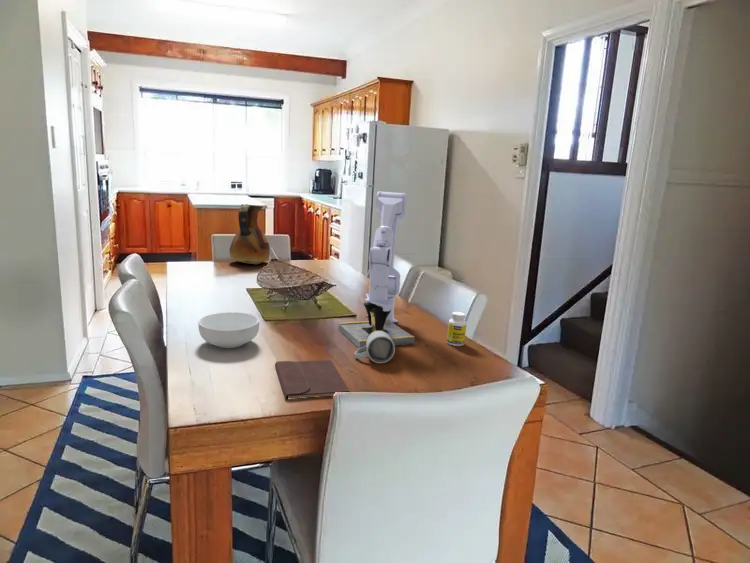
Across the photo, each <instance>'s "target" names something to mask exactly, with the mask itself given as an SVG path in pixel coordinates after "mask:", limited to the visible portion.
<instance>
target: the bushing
mask: <svg viewBox="0 0 750 563" xmlns="http://www.w3.org/2000/svg"><path fill="white" fill-rule="evenodd" d="M370 315H371V323H372V333H373V332H375V331H383V332H385V327H383V330H376V329H375V318H374V313H373V310H371V311H370Z"/></svg>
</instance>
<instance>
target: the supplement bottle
mask: <svg viewBox="0 0 750 563" xmlns="http://www.w3.org/2000/svg"><path fill="white" fill-rule="evenodd" d="M466 331H467V321H466V314H465V312H461V311H453V312H452V313H451V318H449V321H448V327H447V337H446V343H447V344H448V345H449V346H452V345H453V347H461V346H462V347H463V346H464V345H465V342H466V341H465V338H466Z"/></svg>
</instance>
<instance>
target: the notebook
mask: <svg viewBox="0 0 750 563" xmlns="http://www.w3.org/2000/svg"><path fill="white" fill-rule="evenodd" d="M274 366H275V367H274V368H275V370H276V373H277V376H278V380H279V383H280V387H281V389H282V392H283V397H284V396H285V397H284V399H285V398H286V399H287V396H288V398H300V397H301V398H302V397H315V396H331V397H334V396H333V394H334V393H335V392H350V389H349V388H348V386H347V384H346V383H345V381H344V379H343V378H342V377H341V374H340V373H339V372H338V371H339V370H338V369H337V367H336V366H335V365H334V363H333V361H332V359H321V360H304V361H302V360H301V361H299V360H298V361H291V360H283V361H282V360H281V361H276V362H275V364H274ZM350 393H351V392H350Z"/></svg>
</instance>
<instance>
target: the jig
mask: <svg viewBox="0 0 750 563" xmlns="http://www.w3.org/2000/svg"><path fill="white" fill-rule="evenodd" d="M384 327H385V333H387V334H388V335H389V336H390V338H391V339H392V341H393V343H394V345H395V346H403V345H414V344H415V336H414V335H412V334H410V333H409V332H407V331H405V330H404V329H402V327H399V326H398V325H396V324H395V322H391V321H390V320H386V321H385V324H384ZM338 331H339V332H340V333H341V334H343V336H345V337H346V338H347V339H348V340H349V341H350V342H351V343H353V344H354V346H356V347H357V349H359V348H361V347H363V346H366V341H367V338H368V336H369V335H370V334H371V333H372V325H371V326H370V325H369V321H368V320H365V321H352V322H351V321H350V322H349V321H348V322H338Z"/></svg>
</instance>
